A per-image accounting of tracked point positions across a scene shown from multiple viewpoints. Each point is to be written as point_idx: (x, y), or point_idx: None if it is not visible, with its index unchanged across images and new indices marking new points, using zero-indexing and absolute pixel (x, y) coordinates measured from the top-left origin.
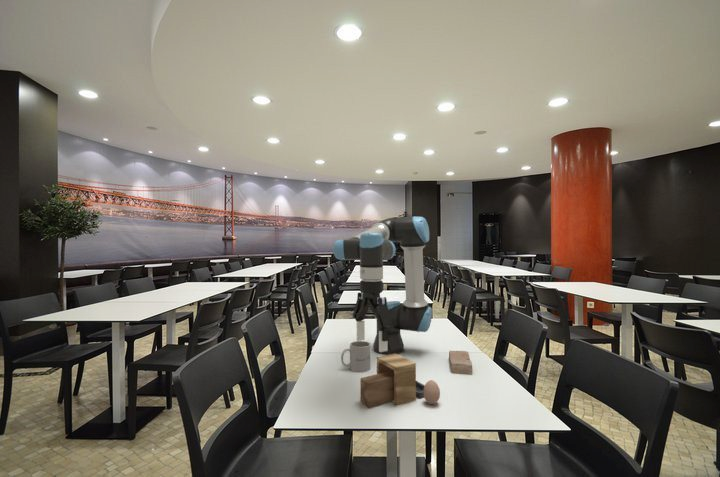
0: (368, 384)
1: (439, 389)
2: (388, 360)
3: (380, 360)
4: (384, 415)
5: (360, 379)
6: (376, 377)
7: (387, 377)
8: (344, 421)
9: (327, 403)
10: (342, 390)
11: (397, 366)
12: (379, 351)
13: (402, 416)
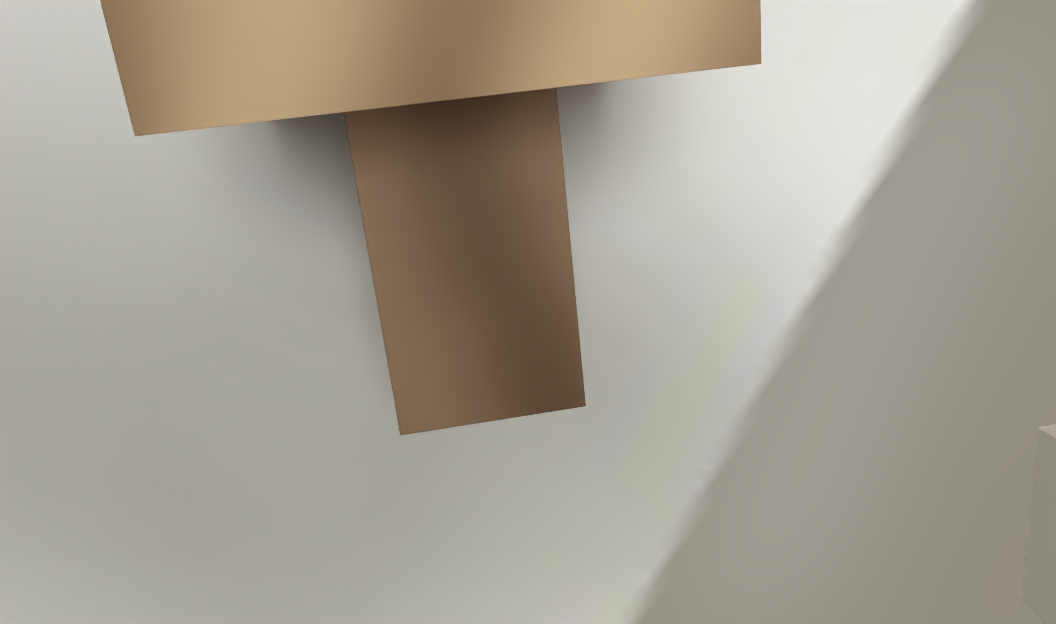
0: (581, 402)
1: None
2: (393, 7)
3: (276, 119)
4: (696, 244)
5: (402, 428)
6: (464, 248)
7: (524, 111)
8: (633, 541)
9: (321, 586)
10: (101, 409)
11: (725, 15)
12: (1043, 602)
13: (780, 112)
